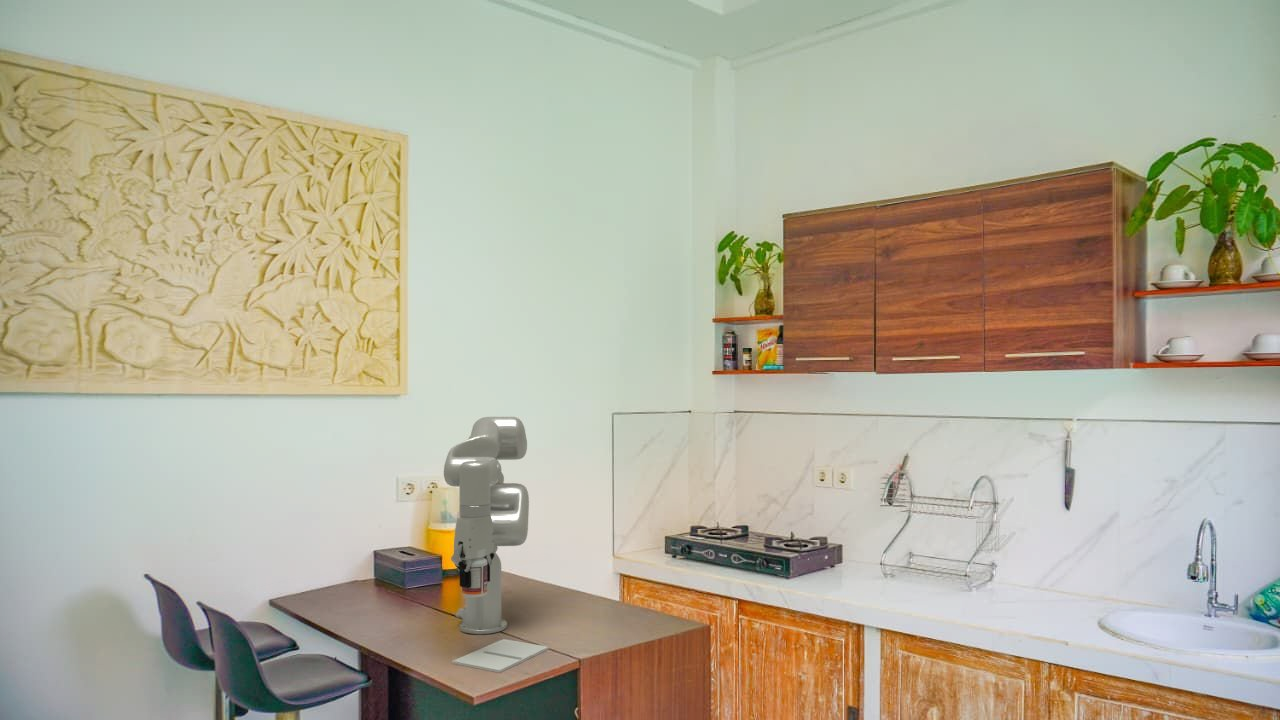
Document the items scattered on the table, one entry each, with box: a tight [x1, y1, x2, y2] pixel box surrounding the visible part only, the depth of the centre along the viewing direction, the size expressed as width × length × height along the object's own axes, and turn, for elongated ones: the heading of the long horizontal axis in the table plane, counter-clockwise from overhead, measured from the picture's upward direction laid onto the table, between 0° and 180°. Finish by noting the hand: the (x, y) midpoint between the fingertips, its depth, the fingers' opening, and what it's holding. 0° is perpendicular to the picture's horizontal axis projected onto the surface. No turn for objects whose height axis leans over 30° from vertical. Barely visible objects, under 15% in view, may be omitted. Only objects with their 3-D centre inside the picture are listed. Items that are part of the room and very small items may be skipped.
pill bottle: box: [461, 549, 487, 598], centre depth 224 cm, size 6×6×11 cm
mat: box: [451, 638, 550, 674], centre depth 222 cm, size 14×20×1 cm
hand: (474, 583), depth 224 cm, fingers closed on pill bottle, 6 cm apart
